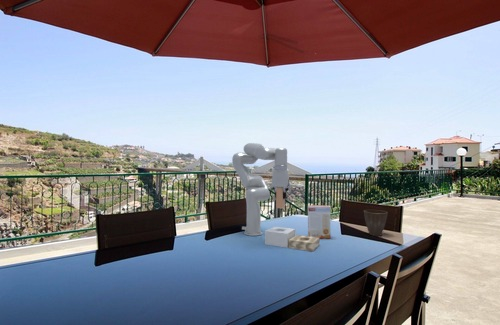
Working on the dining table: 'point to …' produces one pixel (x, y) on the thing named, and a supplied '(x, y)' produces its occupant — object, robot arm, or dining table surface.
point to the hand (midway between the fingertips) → (280, 198)
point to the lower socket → (304, 242)
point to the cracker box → (319, 221)
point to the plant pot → (375, 221)
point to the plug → (280, 198)
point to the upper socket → (279, 236)
